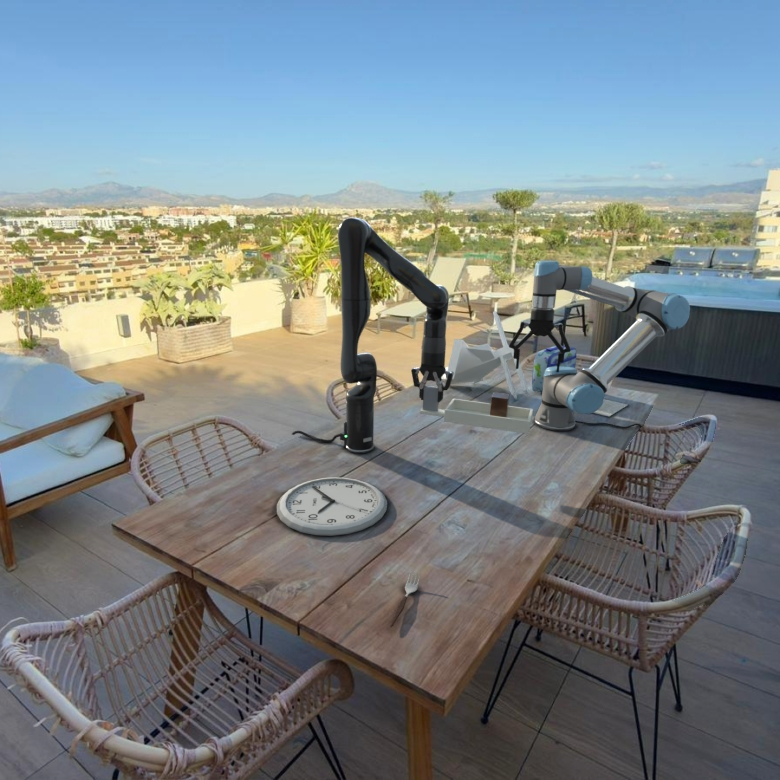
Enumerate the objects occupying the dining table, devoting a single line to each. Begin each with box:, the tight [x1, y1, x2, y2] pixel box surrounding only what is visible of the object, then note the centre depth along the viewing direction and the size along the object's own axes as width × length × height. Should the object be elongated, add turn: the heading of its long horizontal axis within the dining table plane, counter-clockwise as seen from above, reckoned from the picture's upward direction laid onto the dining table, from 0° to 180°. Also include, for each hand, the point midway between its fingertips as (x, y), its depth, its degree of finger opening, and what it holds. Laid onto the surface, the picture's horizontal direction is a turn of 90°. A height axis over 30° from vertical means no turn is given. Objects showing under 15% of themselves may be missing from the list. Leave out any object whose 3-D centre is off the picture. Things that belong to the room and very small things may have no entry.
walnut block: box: [490, 392, 511, 418], centre depth 163 cm, size 5×5×8 cm
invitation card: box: [592, 398, 629, 418], centre depth 226 cm, size 21×1×15 cm
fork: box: [390, 569, 422, 628], centre depth 106 cm, size 3×16×2 cm, turn 160°
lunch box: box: [531, 345, 577, 393], centre depth 245 cm, size 26×11×21 cm, turn 134°
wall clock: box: [276, 476, 388, 537], centre depth 142 cm, size 30×2×30 cm
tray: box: [419, 384, 534, 435], centre depth 166 cm, size 35×12×9 cm, turn 71°
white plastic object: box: [441, 310, 531, 400], centre depth 245 cm, size 37×45×31 cm
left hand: (430, 400), depth 170 cm, fingers closed on tray, 5 cm apart
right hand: (537, 369), depth 181 cm, fingers open, 13 cm apart
